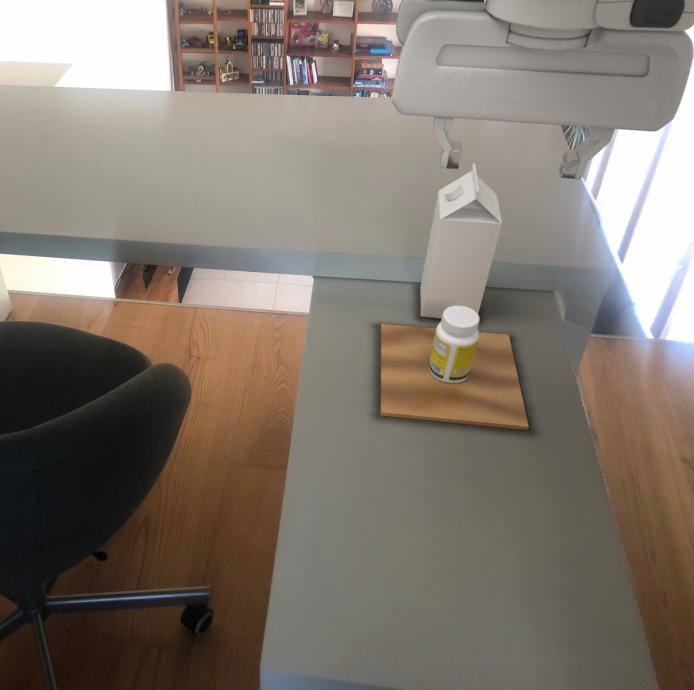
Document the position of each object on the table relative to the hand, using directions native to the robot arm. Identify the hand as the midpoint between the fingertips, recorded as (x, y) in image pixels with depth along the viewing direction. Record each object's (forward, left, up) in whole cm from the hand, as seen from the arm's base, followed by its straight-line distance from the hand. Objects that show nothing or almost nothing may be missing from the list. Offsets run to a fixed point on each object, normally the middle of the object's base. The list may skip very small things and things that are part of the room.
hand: (508, 170), depth 57 cm
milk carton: (+16, -17, -31) cm, 39 cm away
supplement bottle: (+6, -7, -31) cm, 32 cm away
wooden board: (+6, -7, -31) cm, 32 cm away
